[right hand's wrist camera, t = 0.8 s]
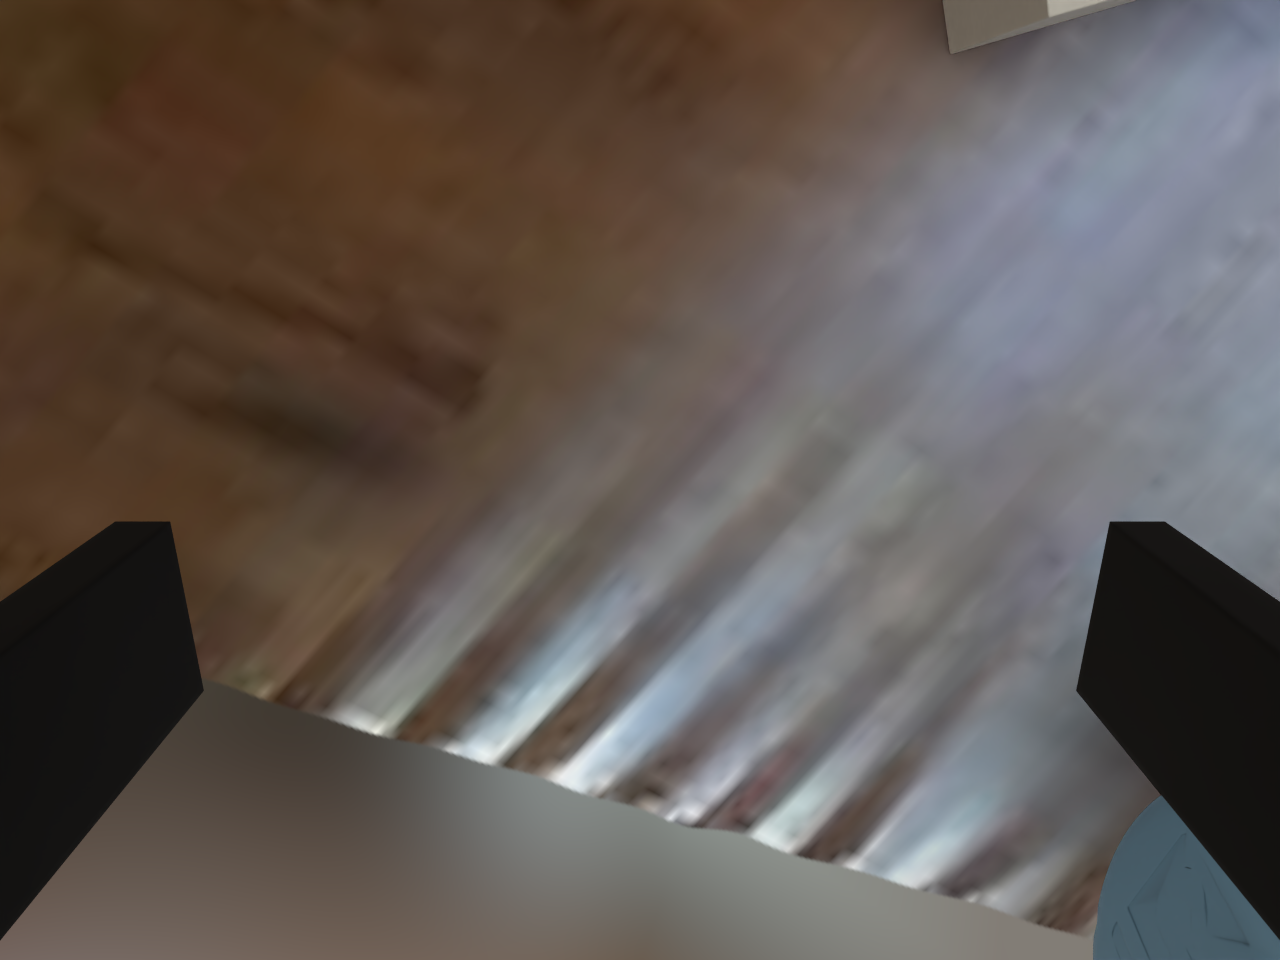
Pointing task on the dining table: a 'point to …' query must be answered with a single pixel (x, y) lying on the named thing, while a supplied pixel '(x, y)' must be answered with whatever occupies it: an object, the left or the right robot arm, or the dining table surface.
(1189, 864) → the left robot arm
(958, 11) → the bar
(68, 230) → the dining table surface
